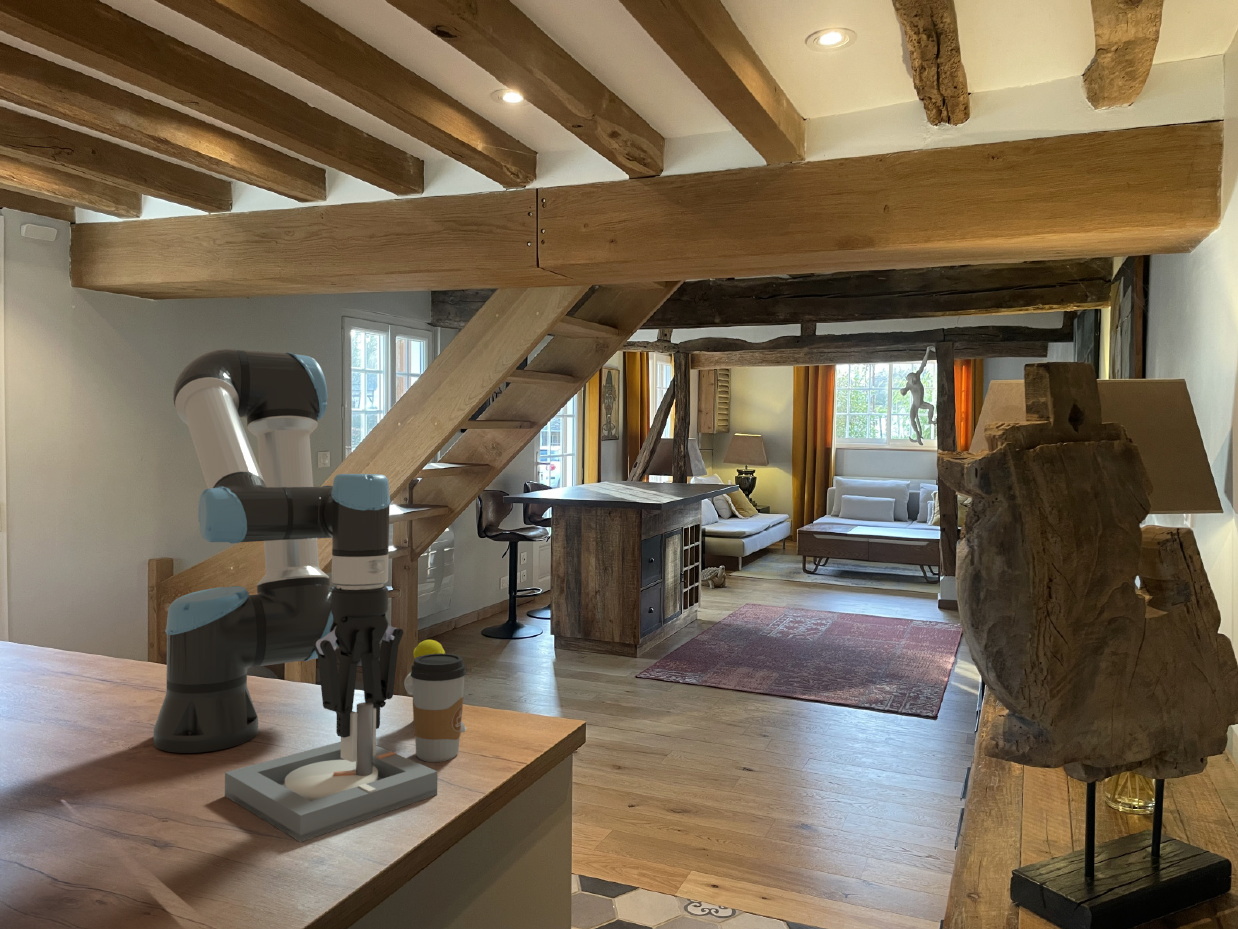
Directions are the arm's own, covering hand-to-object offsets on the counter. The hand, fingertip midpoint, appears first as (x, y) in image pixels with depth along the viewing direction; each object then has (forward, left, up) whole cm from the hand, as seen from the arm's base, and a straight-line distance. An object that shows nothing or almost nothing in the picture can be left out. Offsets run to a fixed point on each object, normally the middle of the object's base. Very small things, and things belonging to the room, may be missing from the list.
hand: (358, 756), depth 121 cm
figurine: (-13, +23, -5) cm, 26 cm away
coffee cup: (-3, +16, -5) cm, 17 cm away
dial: (-1, -3, -4) cm, 5 cm away
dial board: (-1, -3, -5) cm, 6 cm away
